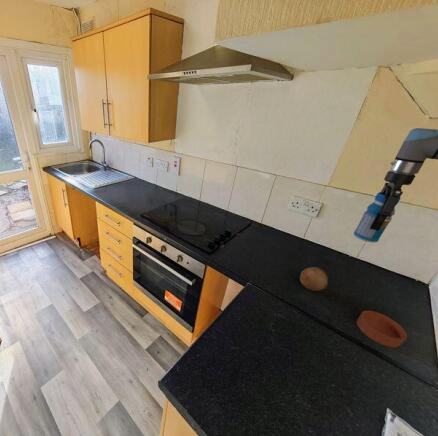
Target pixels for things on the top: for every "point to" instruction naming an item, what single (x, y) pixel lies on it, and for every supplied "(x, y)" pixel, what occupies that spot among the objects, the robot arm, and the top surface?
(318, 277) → the onion
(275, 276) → the top surface
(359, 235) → the beverage bottle
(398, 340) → the bottle stand
